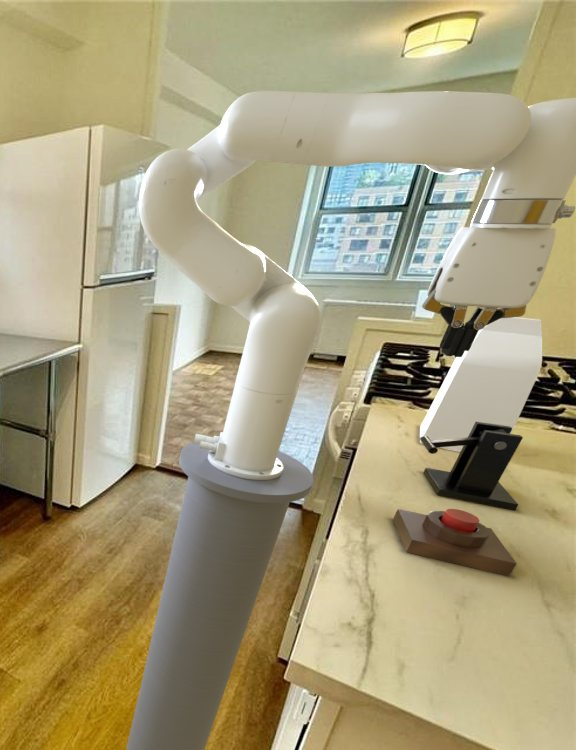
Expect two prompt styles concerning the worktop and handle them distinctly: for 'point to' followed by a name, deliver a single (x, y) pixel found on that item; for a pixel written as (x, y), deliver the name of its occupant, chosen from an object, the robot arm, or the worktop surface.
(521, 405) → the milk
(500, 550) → the button box
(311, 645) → the worktop surface
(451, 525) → the button
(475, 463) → the bracket
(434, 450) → the lever
